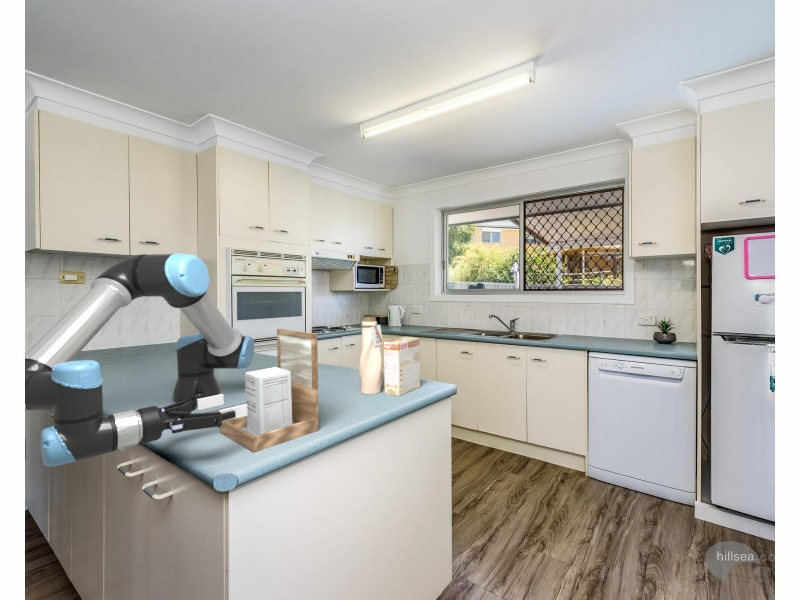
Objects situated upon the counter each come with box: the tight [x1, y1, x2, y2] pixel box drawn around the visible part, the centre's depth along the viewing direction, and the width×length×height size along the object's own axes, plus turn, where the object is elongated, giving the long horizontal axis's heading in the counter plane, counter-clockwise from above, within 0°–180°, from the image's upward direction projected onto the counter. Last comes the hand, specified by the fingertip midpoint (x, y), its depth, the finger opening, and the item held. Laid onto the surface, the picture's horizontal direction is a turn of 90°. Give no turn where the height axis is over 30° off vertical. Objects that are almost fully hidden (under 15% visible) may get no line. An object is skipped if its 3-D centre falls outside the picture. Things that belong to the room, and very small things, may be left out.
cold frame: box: [219, 328, 320, 454], centre depth 107 cm, size 19×19×27 cm
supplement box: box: [244, 366, 293, 436], centre depth 107 cm, size 10×9×17 cm
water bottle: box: [358, 316, 384, 395], centre depth 146 cm, size 10×9×28 cm
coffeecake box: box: [383, 336, 421, 397], centre depth 148 cm, size 15×7×20 cm, turn 145°
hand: (234, 404), depth 100 cm, fingers open, 13 cm apart
